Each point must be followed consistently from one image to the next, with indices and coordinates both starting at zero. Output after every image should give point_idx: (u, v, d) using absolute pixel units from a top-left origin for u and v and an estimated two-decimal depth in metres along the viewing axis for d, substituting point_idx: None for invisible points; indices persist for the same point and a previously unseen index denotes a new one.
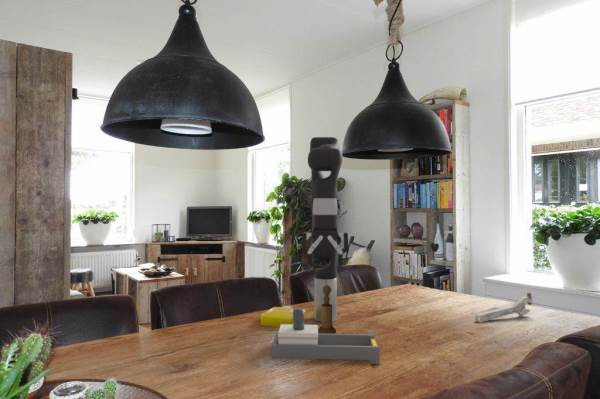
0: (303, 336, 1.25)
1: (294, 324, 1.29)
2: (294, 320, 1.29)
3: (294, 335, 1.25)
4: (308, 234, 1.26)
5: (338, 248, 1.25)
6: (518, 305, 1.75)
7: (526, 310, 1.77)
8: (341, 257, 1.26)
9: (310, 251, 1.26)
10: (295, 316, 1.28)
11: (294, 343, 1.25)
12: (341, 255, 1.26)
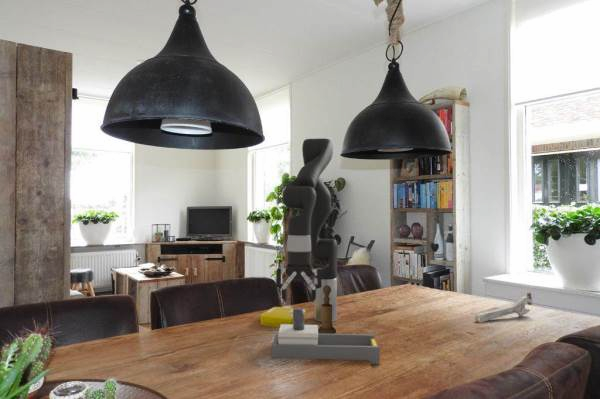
0: (303, 336, 1.25)
1: (294, 324, 1.29)
2: (294, 320, 1.29)
3: (294, 335, 1.25)
4: (282, 270, 1.30)
5: (311, 284, 1.29)
6: (518, 305, 1.75)
7: (526, 310, 1.77)
8: (314, 292, 1.29)
9: (284, 286, 1.29)
10: (295, 316, 1.28)
11: (294, 343, 1.25)
12: (314, 291, 1.29)
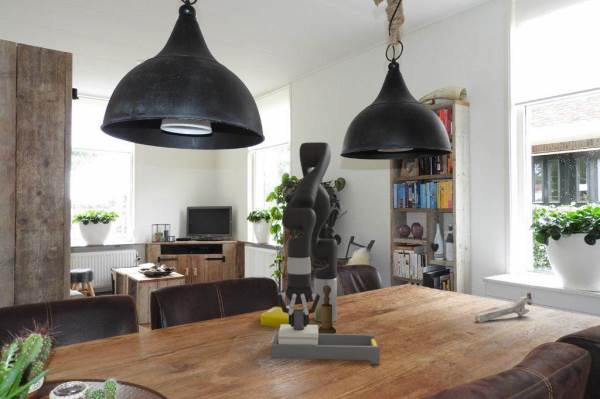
0: (303, 336, 1.25)
1: (294, 324, 1.29)
2: (294, 320, 1.29)
3: (294, 335, 1.25)
4: (283, 294, 1.30)
5: (306, 308, 1.29)
6: (517, 305, 1.75)
7: (525, 310, 1.77)
8: (307, 317, 1.29)
9: (291, 312, 1.29)
10: (295, 316, 1.28)
11: (294, 343, 1.25)
12: (307, 316, 1.29)
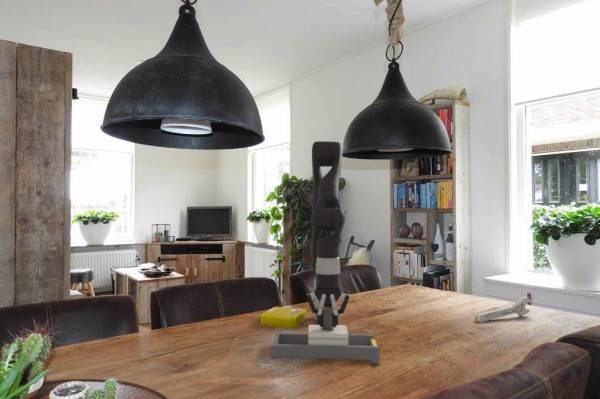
0: (333, 337, 1.25)
1: (323, 324, 1.28)
2: (323, 320, 1.28)
3: (324, 336, 1.25)
4: (312, 294, 1.30)
5: (335, 309, 1.28)
6: (518, 305, 1.75)
7: (526, 310, 1.77)
8: (337, 318, 1.29)
9: (320, 312, 1.28)
10: (324, 316, 1.28)
11: (325, 344, 1.25)
12: (337, 316, 1.29)
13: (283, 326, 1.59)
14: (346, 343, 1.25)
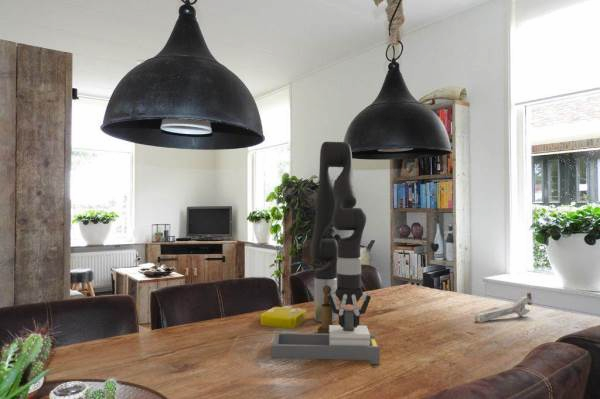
0: (355, 337, 1.25)
1: (345, 325, 1.28)
2: (345, 321, 1.28)
3: (346, 336, 1.25)
4: (333, 295, 1.29)
5: (357, 309, 1.28)
6: (518, 305, 1.75)
7: (525, 310, 1.77)
8: (358, 318, 1.28)
9: (341, 312, 1.28)
10: (346, 317, 1.28)
11: (346, 344, 1.25)
12: (358, 316, 1.28)
13: (283, 326, 1.59)
14: (368, 343, 1.25)
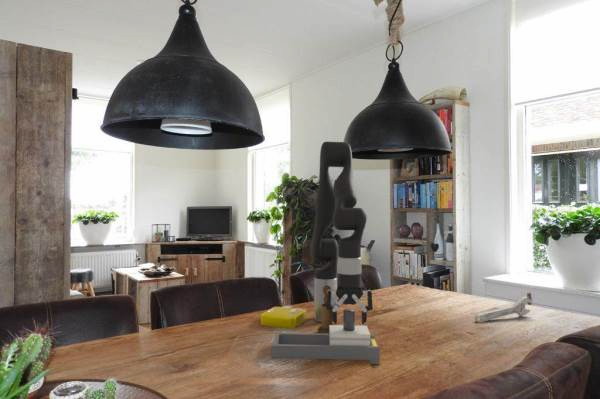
0: (355, 337, 1.25)
1: (345, 325, 1.28)
2: (345, 321, 1.28)
3: (346, 336, 1.25)
4: (333, 292, 1.29)
5: (362, 306, 1.28)
6: (518, 305, 1.75)
7: (526, 310, 1.76)
8: (365, 315, 1.28)
9: (335, 309, 1.28)
10: (346, 317, 1.28)
11: (347, 344, 1.25)
12: (365, 313, 1.28)
13: (283, 326, 1.59)
14: (368, 343, 1.25)
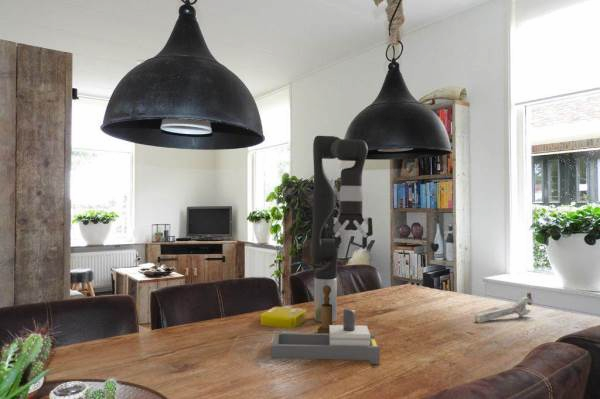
0: (355, 337, 1.25)
1: (345, 325, 1.28)
2: (345, 321, 1.28)
3: (346, 336, 1.25)
4: (335, 219, 1.37)
5: (363, 232, 1.36)
6: (518, 305, 1.74)
7: (526, 310, 1.76)
8: (365, 240, 1.37)
9: (337, 234, 1.37)
10: (346, 317, 1.28)
11: (347, 344, 1.25)
12: (365, 238, 1.37)
13: (283, 326, 1.59)
14: (368, 343, 1.25)
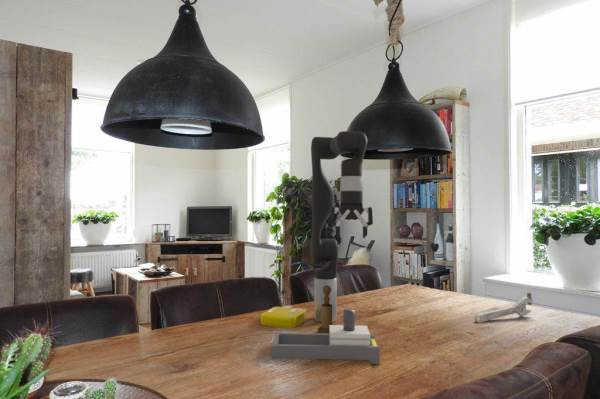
0: (355, 337, 1.25)
1: (345, 325, 1.28)
2: (345, 321, 1.28)
3: (346, 336, 1.25)
4: (336, 209, 1.41)
5: (363, 221, 1.39)
6: (518, 305, 1.74)
7: (526, 310, 1.76)
8: (366, 229, 1.40)
9: (338, 224, 1.40)
10: (346, 317, 1.28)
11: (347, 344, 1.25)
12: (366, 227, 1.40)
13: (283, 326, 1.59)
14: (368, 343, 1.25)
